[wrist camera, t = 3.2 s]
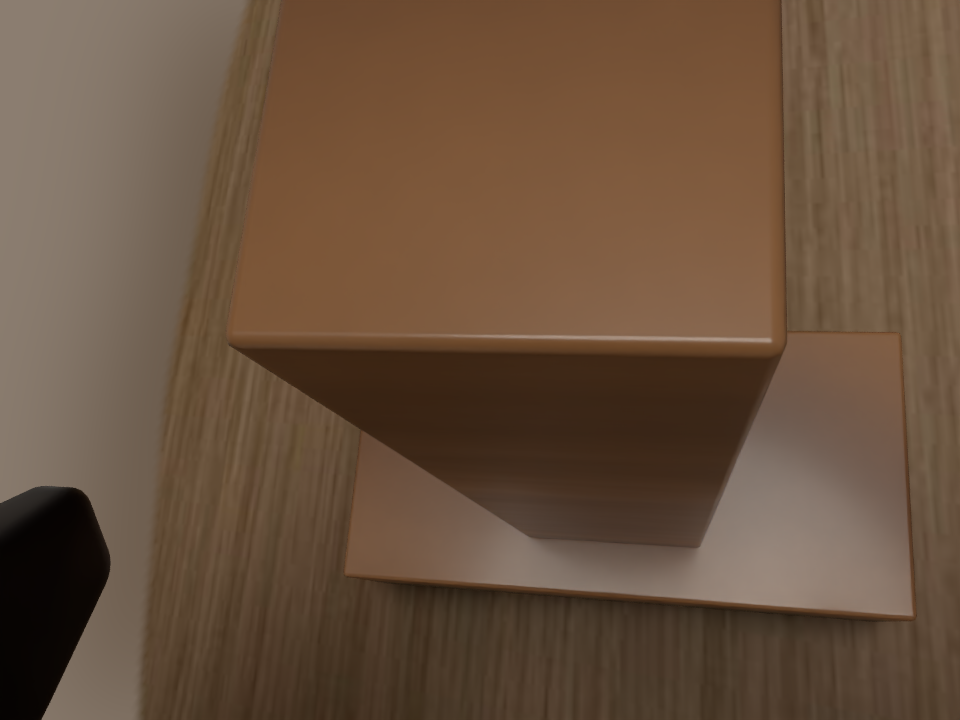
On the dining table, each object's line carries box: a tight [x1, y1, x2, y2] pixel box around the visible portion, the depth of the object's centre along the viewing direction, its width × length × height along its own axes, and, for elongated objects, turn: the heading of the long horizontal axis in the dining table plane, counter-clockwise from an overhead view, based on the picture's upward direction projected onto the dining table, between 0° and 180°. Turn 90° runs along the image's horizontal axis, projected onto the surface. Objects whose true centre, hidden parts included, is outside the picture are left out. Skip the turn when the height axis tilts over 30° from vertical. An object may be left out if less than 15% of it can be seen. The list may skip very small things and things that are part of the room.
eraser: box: [226, 0, 917, 622], centre depth 11 cm, size 4×9×13 cm, turn 85°
